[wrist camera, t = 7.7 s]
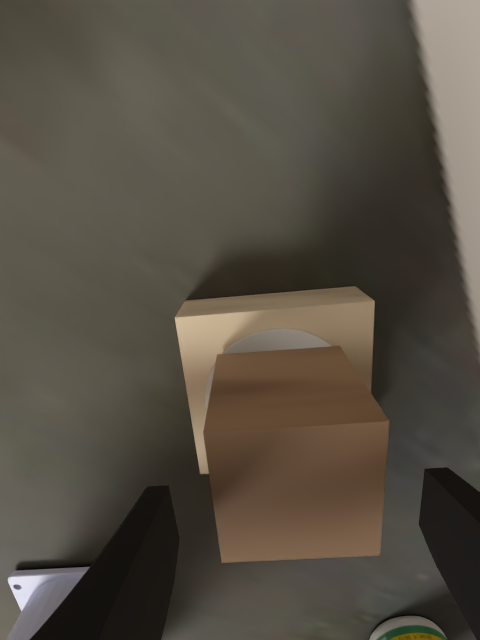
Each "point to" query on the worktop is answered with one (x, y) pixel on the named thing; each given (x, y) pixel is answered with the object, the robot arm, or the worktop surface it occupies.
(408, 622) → the supplement bottle
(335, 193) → the worktop surface
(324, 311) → the base block
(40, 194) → the worktop surface
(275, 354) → the walnut cube
